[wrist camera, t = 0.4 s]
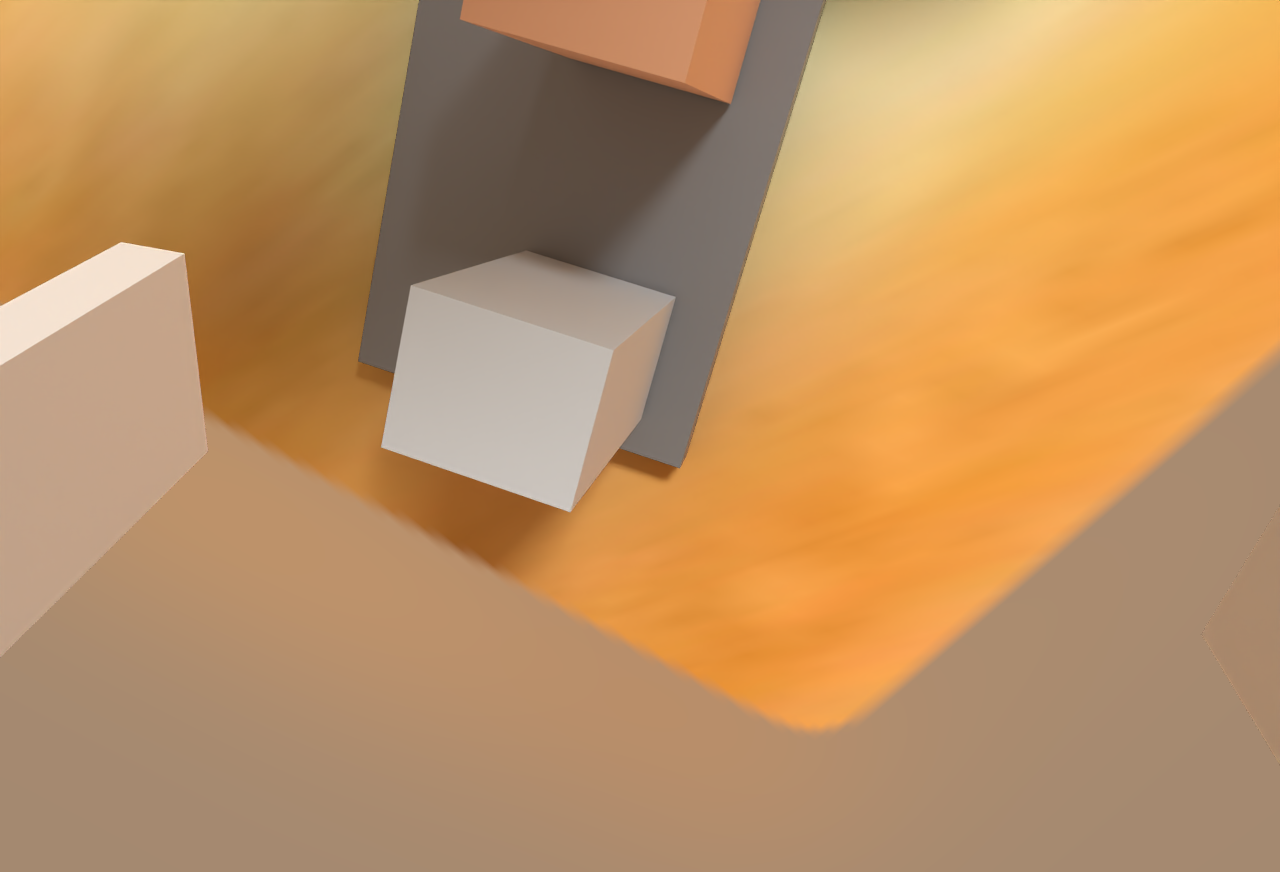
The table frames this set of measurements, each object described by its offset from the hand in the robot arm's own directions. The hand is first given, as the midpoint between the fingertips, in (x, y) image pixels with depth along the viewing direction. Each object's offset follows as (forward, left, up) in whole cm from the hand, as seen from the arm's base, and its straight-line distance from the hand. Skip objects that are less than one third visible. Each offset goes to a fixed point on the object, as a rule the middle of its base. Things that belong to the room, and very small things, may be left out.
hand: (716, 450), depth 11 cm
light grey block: (+5, -7, -23) cm, 25 cm away
